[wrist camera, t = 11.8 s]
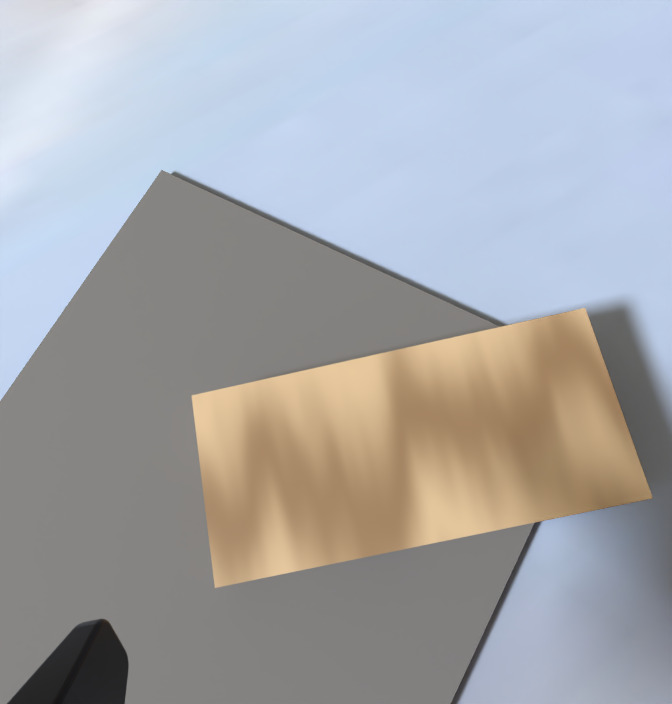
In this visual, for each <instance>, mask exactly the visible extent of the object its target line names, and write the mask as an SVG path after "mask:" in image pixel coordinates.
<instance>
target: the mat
mask: <svg viewBox="0 0 672 704" xmlns="http://www.w3.org/2000/svg"><path fill="white" fill-rule="evenodd" d="M497 327H500V326H498V325H496V324H494V323H491V322H489V321H487V320H485V319H483V318H481V317H478V316H476V315H474V314H472V313H470V312H468V311H465V310H463V309H461V308H459V307H457V306H455V305H452V304H450V303H448V302H446V301H444V300H442V299H439V298H437V297H435V296H433V295H431V294H429V293H426V292H424V291H422V290H420V289H418V288H416V287H414V286H411V285H409V284H407V283H405V282H403V281H401V280H398V279H396V278H394V277H392V276H390V275H388V274H385V273H383V272H381V271H379V270H377V269H375V268H372V267H370V266H368V265H366V264H364V263H362V262H359V261H357V260H355V259H353V258H351V257H349V256H347V255H344V254H342V253H340V252H338V251H336V250H334V249H331V248H329V247H327V246H325V245H323V244H321V243H318V242H316V241H314V240H312V239H310V238H308V237H305V236H303V235H301V234H299V233H297V232H295V231H292V230H290V229H288V228H286V227H284V226H282V225H279V224H277V223H275V222H273V221H271V220H269V219H267V218H264V217H262V216H260V215H258V214H256V213H254V212H251V211H249V210H247V209H245V208H243V207H241V206H238V205H236V204H234V203H232V202H230V201H228V200H225V199H223V198H221V197H219V196H217V195H215V194H212V193H210V192H208V191H206V190H204V189H202V188H199V187H197V186H195V185H193V184H191V183H189V182H187V181H184V180H182V179H180V178H178V177H176V176H174V175H171V174H169V173H167V172H165V171H163V170H161V172H160V173H159V175H158V176H157V178H156V179H155V180H154V182H153V183H152V185H151V186H150V188H149V189H148V191H147V192H146V193H145V195H144V196H143V198H142V199H141V201H140V202H139V203H138V205H137V206H136V208H135V209H134V211H133V212H132V213H131V215H130V216H129V218H128V219H127V221H126V222H125V223H124V225H123V226H122V228H121V229H120V231H119V232H118V233H117V235H116V236H115V238H114V239H113V241H112V242H111V244H110V245H109V246H108V248H107V249H106V251H105V252H104V254H103V255H102V256H101V258H100V259H99V261H98V262H97V264H96V265H95V266H94V268H93V269H92V271H91V272H90V274H89V275H88V276H87V278H86V279H85V281H84V282H83V284H82V285H81V286H80V288H79V289H78V291H77V292H76V294H75V295H74V297H73V298H72V299H71V301H70V302H69V304H68V305H67V307H66V308H65V309H64V311H63V312H62V314H61V315H60V317H59V318H58V319H57V321H56V322H55V324H54V325H53V327H52V328H51V329H50V331H49V332H48V334H47V335H46V337H45V338H44V339H43V341H42V342H41V344H40V345H39V347H38V348H37V350H36V351H35V352H34V354H33V355H32V357H31V358H30V360H29V361H28V362H27V364H26V365H25V367H24V368H23V370H22V371H21V372H20V374H19V375H18V377H17V378H16V380H15V381H14V382H13V384H12V385H11V387H10V388H9V390H8V391H7V392H6V394H5V395H4V397H3V398H2V400H1V401H0V704H7V703H8V702H9V700H10V699H11V698H12V697H13V696H14V695H15V694H16V693H17V691H18V690H19V689H20V688H21V687H22V686H23V685H24V683H25V682H26V681H27V680H28V679H29V678H30V677H31V676H32V674H33V673H34V672H35V671H36V670H37V669H38V668H39V667H40V665H41V664H42V663H43V662H44V661H45V660H46V659H47V658H48V656H49V655H50V654H51V653H52V652H53V651H54V650H55V649H56V647H57V646H58V645H59V644H60V643H61V642H62V641H63V639H64V638H65V637H66V636H67V635H68V634H69V633H70V632H71V630H72V629H73V628H74V627H75V626H77V625H78V624H80V623H82V622H87V621H92V620H97V619H106V620H107V621H109V623H110V624H111V626H112V627H113V629H114V631H115V633H116V634H117V636H118V638H119V640H120V641H121V643H122V645H123V647H124V649H125V650H126V653H127V656H128V662H129V669H128V679H127V688H126V697H125V704H451V702H452V700H453V698H454V695H455V693H456V691H457V689H458V687H459V685H460V683H461V680H462V678H463V676H464V674H465V672H466V670H467V667H468V665H469V663H470V661H471V659H472V657H473V654H474V652H475V650H476V648H477V646H478V644H479V642H480V639H481V637H482V635H483V633H484V631H485V629H486V626H487V624H488V622H489V620H490V618H491V616H492V614H493V611H494V609H495V607H496V605H497V603H498V601H499V598H500V596H501V594H502V592H503V590H504V588H505V586H506V583H507V581H508V579H509V577H510V575H511V573H512V570H513V568H514V566H515V564H516V562H517V560H518V557H519V555H520V553H521V551H522V549H523V547H524V545H525V542H526V540H527V538H528V536H529V534H530V532H531V529H532V527H533V525H534V523H530V524H525V525H520V526H515V527H511V528H506V529H501V530H496V531H491V532H486V533H481V534H476V535H471V536H467V537H462V538H457V539H452V540H447V541H442V542H437V543H432V544H427V545H423V546H418V547H413V548H408V549H403V550H398V551H393V552H388V553H383V554H379V555H374V556H369V557H364V558H359V559H354V560H349V561H344V562H339V563H335V564H330V565H325V566H320V567H315V568H310V569H305V570H300V571H295V572H291V573H286V574H281V575H276V576H271V577H266V578H261V579H256V580H251V581H247V582H242V583H237V584H232V585H227V586H222V587H217V588H215V585H214V577H213V568H212V560H211V552H210V544H209V535H208V527H207V519H206V511H205V502H204V494H203V486H202V478H201V470H200V461H199V453H198V445H197V437H196V428H195V420H194V412H193V404H192V395H196V394H200V393H205V392H209V391H214V390H218V389H223V388H227V387H232V386H236V385H241V384H245V383H250V382H254V381H259V380H263V379H268V378H272V377H277V376H281V375H286V374H290V373H295V372H299V371H304V370H308V369H313V368H317V367H322V366H326V365H331V364H335V363H340V362H344V361H349V360H353V359H358V358H362V357H367V356H371V355H376V354H380V353H385V352H389V351H394V350H398V349H403V348H407V347H412V346H416V345H421V344H425V343H430V342H434V341H439V340H443V339H448V338H452V337H457V336H461V335H466V334H470V333H475V332H479V331H484V330H488V329H493V328H497Z"/></svg>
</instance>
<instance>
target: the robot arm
mask: <svg viewBox="0 0 672 704" xmlns="http://www.w3.org/2000/svg"><path fill="white" fill-rule="evenodd" d="M128 669H129V662H128V656H127V653H126V650H125V649H124V647H123V645H122V643H121V641H120V640H119V638H118V636H117V634H116V633H115V631H114V629H113V627H112V626H111V624H110V623H109V621H107V620H106V619H97V620H92V621H87V622H82V623H80V624H78V625H77V626H75V627H74V628H73V629H72V630H71V632H70V633H69V634H68V635H67V636H66V637H65V638H64V639H63V641H62V642H61V643H60V644H59V645H58V646H57V647H56V649H55V650H54V651H53V652H52V653H51V654H50V655H49V656H48V658H47V659H46V660H45V661H44V662H43V663H42V664H41V665H40V667H39V668H38V669H37V670H36V671H35V672H34V673H33V674H32V676H31V677H30V678H29V679H28V680H27V681H26V682H25V683H24V685H23V686H22V687H21V688H20V689H19V690H18V691H17V693H16V694H15V695H14V696H13V697H12V698H11V699H10V700H9V702H8V703H7V704H125V697H126V688H127V679H128Z"/></svg>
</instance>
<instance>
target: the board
mask: <svg viewBox="0 0 672 704" xmlns="http://www.w3.org/2000/svg"><path fill="white" fill-rule="evenodd" d="M192 404H193V412H194V420H195V428H196V437H197V445H198V453H199V461H200V470H201V478H202V486H203V494H204V502H205V511H206V519H207V527H208V535H209V544H210V552H211V560H212V568H213V577H214V585H215V588H217V587H222V586H227V585H232V584H237V583H242V582H247V581H251V580H256V579H261V578H266V577H271V576H276V575H281V574H286V573H291V572H295V571H300V570H305V569H310V568H315V567H320V566H325V565H330V564H335V563H339V562H344V561H349V560H354V559H359V558H364V557H369V556H374V555H379V554H383V553H388V552H393V551H398V550H403V549H408V548H413V547H418V546H423V545H427V544H432V543H437V542H442V541H447V540H452V539H457V538H462V537H467V536H471V535H476V534H481V533H486V532H491V531H496V530H501V529H506V528H511V527H515V526H520V525H525V524H530V523H535V522H540V521H545V520H550V519H555V518H559V517H564V516H569V515H574V514H579V513H584V512H589V511H594V510H599V509H603V508H608V507H613V506H618V505H623V504H628V503H633V502H638V501H643V500H647V499H652V498H653V497H652V494H651V492H650V489H649V486H648V483H647V480H646V478H645V475H644V472H643V469H642V466H641V463H640V461H639V458H638V455H637V452H636V449H635V447H634V444H633V441H632V438H631V435H630V433H629V430H628V427H627V424H626V421H625V418H624V416H623V413H622V410H621V407H620V404H619V402H618V399H617V396H616V393H615V390H614V388H613V385H612V382H611V379H610V376H609V373H608V371H607V368H606V365H605V362H604V359H603V357H602V354H601V351H600V348H599V345H598V342H597V340H596V337H595V334H594V331H593V328H592V326H591V323H590V320H589V317H588V314H587V312H586V309H585V308H583V309H578V310H574V311H569V312H565V313H560V314H556V315H551V316H547V317H542V318H538V319H533V320H529V321H524V322H520V323H515V324H511V325H506V326H502V327H497V328H493V329H488V330H484V331H479V332H475V333H470V334H466V335H461V336H457V337H452V338H448V339H443V340H439V341H434V342H430V343H425V344H421V345H416V346H412V347H407V348H403V349H398V350H394V351H389V352H385V353H380V354H376V355H371V356H367V357H362V358H358V359H353V360H349V361H344V362H340V363H335V364H331V365H326V366H322V367H317V368H313V369H308V370H304V371H299V372H295V373H290V374H286V375H281V376H277V377H272V378H268V379H263V380H259V381H254V382H250V383H245V384H241V385H236V386H232V387H227V388H223V389H218V390H214V391H209V392H205V393H200V394H196V395H192Z"/></svg>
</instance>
